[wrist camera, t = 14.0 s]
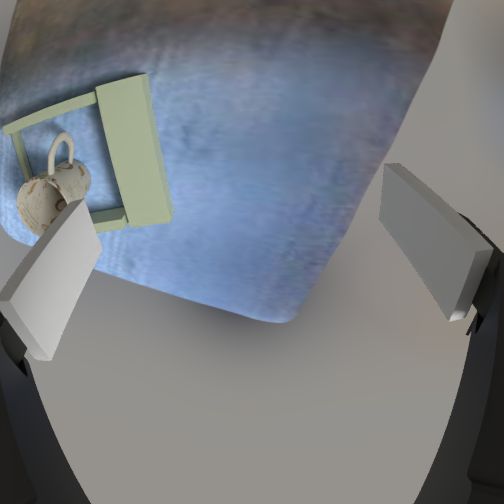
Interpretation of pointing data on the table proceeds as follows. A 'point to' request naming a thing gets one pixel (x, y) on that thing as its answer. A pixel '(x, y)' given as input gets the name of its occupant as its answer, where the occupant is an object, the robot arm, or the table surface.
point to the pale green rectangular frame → (118, 151)
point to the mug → (52, 189)
